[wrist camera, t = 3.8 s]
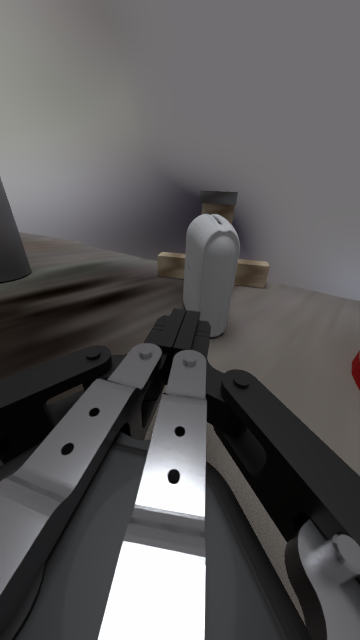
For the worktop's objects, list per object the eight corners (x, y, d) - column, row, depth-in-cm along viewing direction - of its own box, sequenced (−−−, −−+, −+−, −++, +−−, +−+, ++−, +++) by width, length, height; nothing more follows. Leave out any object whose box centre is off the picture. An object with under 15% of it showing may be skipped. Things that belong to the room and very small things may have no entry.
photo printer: (180, 300, 32) (184, 209, 26) (207, 299, 33) (218, 211, 26) (192, 340, 23) (203, 218, 17) (228, 338, 24) (252, 220, 18)
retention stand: (151, 283, 37) (149, 188, 30) (162, 271, 43) (162, 189, 36) (267, 297, 34) (296, 195, 27) (261, 282, 40) (284, 195, 33)
